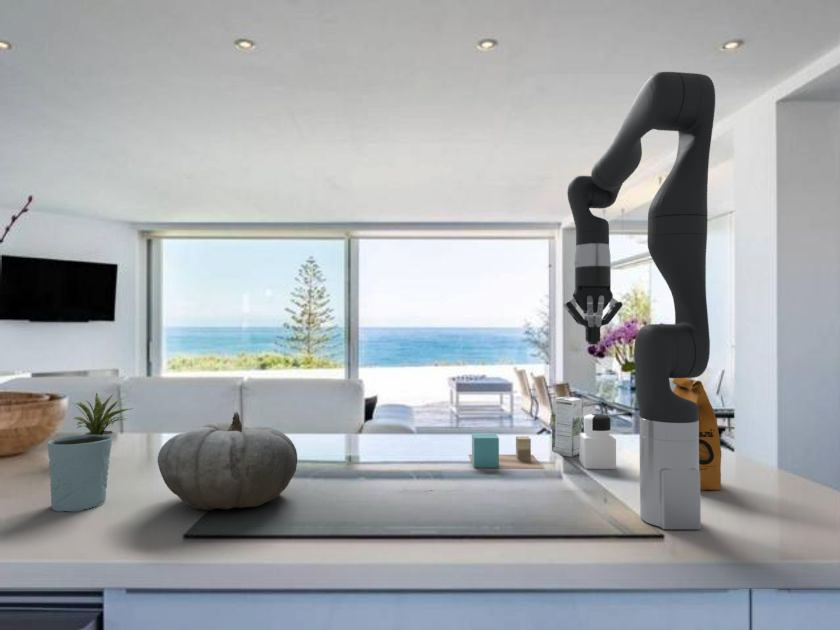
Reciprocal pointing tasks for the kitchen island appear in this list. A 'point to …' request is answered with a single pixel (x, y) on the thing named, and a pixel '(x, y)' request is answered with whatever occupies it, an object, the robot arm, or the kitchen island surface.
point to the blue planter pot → (79, 471)
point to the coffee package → (704, 433)
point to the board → (513, 463)
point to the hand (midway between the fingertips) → (593, 344)
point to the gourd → (227, 465)
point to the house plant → (99, 417)
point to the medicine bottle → (597, 443)
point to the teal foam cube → (485, 450)
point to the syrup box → (566, 425)
